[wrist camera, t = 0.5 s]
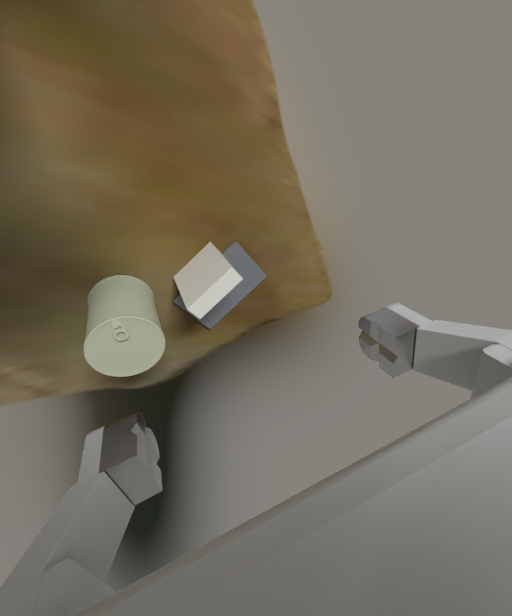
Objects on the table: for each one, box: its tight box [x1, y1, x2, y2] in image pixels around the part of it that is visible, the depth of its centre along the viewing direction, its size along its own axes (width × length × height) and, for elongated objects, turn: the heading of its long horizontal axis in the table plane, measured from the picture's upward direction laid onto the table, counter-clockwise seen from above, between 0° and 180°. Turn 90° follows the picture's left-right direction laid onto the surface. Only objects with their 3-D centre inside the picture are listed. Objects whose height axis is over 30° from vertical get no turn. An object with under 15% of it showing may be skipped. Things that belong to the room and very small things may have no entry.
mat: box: [173, 241, 267, 329], centre depth 50 cm, size 9×14×1 cm, turn 128°
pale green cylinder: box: [83, 275, 165, 377], centre depth 40 cm, size 9×9×12 cm
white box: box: [174, 242, 243, 319], centre depth 42 cm, size 3×8×10 cm, turn 128°
